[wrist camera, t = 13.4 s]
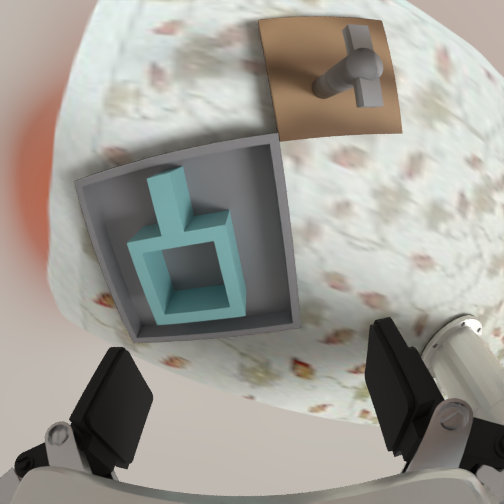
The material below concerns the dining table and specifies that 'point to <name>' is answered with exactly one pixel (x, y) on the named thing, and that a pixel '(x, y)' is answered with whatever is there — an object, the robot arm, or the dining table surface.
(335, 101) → the stake board
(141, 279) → the teal hollow frame
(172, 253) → the tray
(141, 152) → the dining table surface
